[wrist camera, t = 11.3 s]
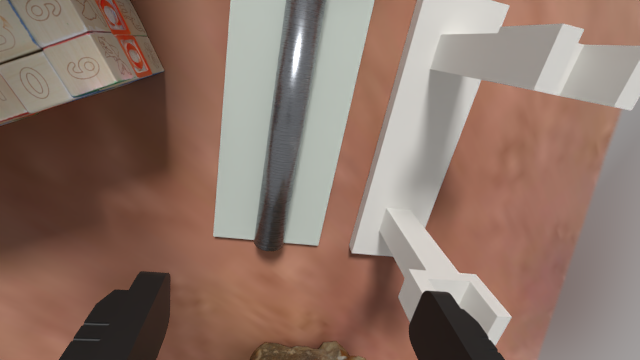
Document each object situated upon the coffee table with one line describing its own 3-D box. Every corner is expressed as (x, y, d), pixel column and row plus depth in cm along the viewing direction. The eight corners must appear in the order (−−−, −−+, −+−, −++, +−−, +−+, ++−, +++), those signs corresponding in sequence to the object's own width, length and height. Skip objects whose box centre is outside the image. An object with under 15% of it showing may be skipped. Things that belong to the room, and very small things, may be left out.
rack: (349, 245, 39) (394, 376, 24) (420, -14, 28) (586, -75, 13) (408, 250, 40) (487, 377, 25) (498, 7, 29) (727, -26, 14)
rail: (280, 233, 36) (286, 250, 34) (252, 233, 35) (256, 251, 32) (324, -27, 26) (337, -32, 24) (287, -38, 25) (297, -45, 22)
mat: (214, 233, 36) (213, 236, 35) (236, -64, 25) (235, -66, 24) (317, 242, 38) (318, 245, 37) (378, -26, 27) (380, -27, 27)
